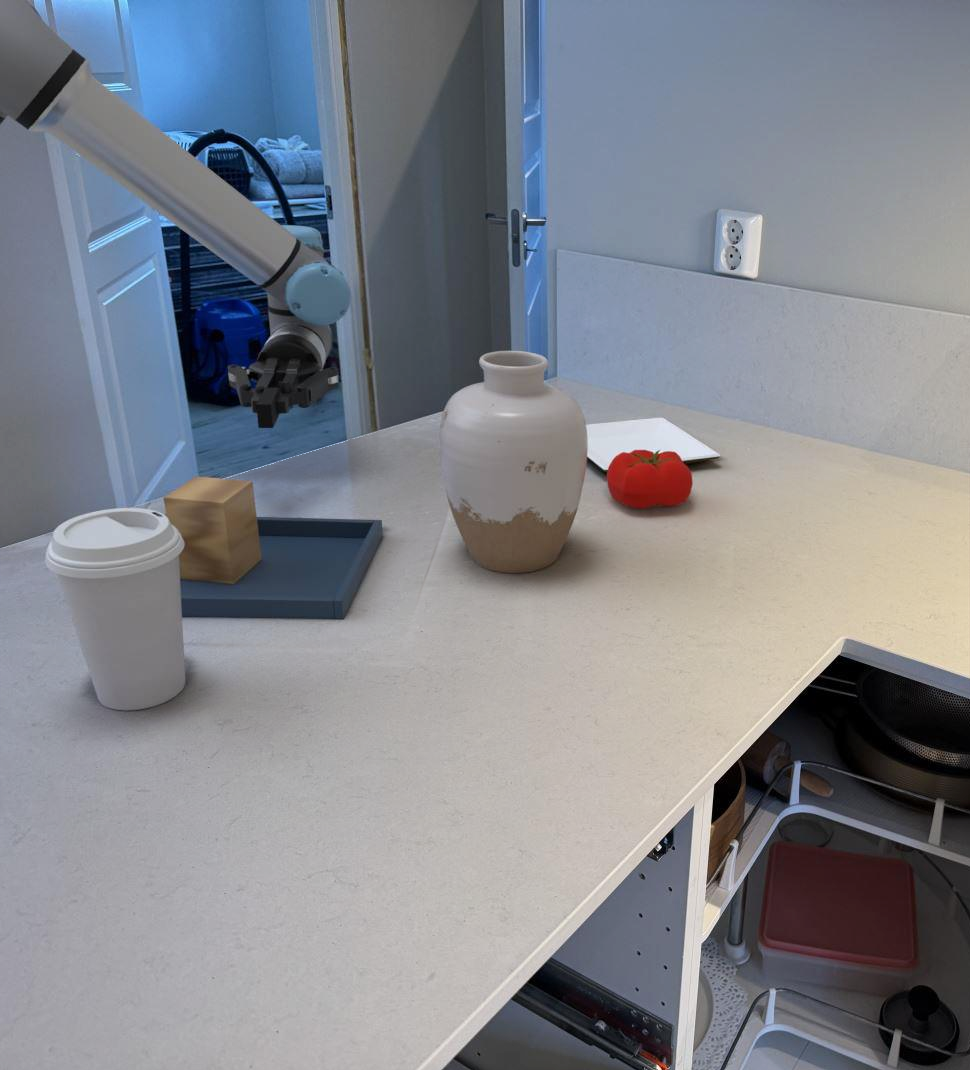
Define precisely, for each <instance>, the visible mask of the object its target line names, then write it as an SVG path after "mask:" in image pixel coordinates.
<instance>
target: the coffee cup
mask: <svg viewBox="0 0 970 1070" xmlns="http://www.w3.org/2000/svg"><path fill="white" fill-rule="evenodd" d="M164 514H165V513H162V512H159V511H157V510H153V509H148V508H141V507H140V508H139V507H118V508H117V507H116V508H108V509H101V510H97V511H92V512H91V511H90V512H87V513H83V514H81V515H77V516H74V517H72V518H69V519H68V520H65V521H64V522H62V523H61V524H59V525H58V526H57V527H55V529H54V530H53V533H52V537H51V538H52V539H51V541H49V544H47V545H48V546H47V549H46V552H45V558H44V559H45V561H44V564H45V565H46V567H47V569H48V570H50V571H51V572H53V573H54V574H56V577H57V580H58V583H59V586H60V589H61V591H62V595H63V598H64V600H65V604H66V606H67V609H68V612H69V615H70V619H71V622H72V625H73V627H74V631H75V633H76V636H77V639H78V642H79V645H80V648H81V651H82V654H83V657H84V660H85V663H86V666H87V669H88V673H89V675H90V679H91V681H92V684H93V687H94V690H95V694H96V696H97V700H98V701H99V703H100V704H101V705H102V706H103V707H106V708H108V709H111V710H115V711H138V710H145V709H149V708H153V707H156V706H159V705H162V704H164V703H166V702H168V701H170V700H172V699H173V698H175V697H177V696H178V695H179V694H180V693H181V692H182V691H183V689H184V688H185V686H186V664H185V646H184V630H183V629H184V628H183V617H182V609H181V590H180V569H179V554H180V553H181V552H182V550H183V548H184V545H185V544H184V540H183V538H182V536H181V534H180V533H179V531H178V530H177V528H176V527H174V526H173V525H172V524H171V523H170V521H169V519H168V518H167V517H166V516H165V515H164Z"/></svg>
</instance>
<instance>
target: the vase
mask: <svg viewBox="0 0 970 1070" xmlns="http://www.w3.org/2000/svg"><path fill="white" fill-rule="evenodd" d="M478 365H479V367H480V368H481V369H482V371H483V381H482V382H477V383H472V384H470V385H467V386H465V387H463V388H461V389H459V390H458V391H456V392H455V393H453V394H452V395H451V397H450V398H449V400H448V401H447V402H446V404H445V407H444V409H443V412H442V415H441V419H440V425H439V433H438V451H439V452H438V453H439V462H440V467H441V474H442V480H443V483H444V488H445V493H446V497H447V501H448V503H449V507H450V512H451V514H452V517H453V519H454V523H455V525H456V527H457V529H458V532H459V534H460V536H461V538H462V541H463V543H464V545H465V548H466V549H467V552H468V554H469V555H470V557H471V559H472V560H473V561H474V562H475V564H477V565H478V566H480V567H481V568H483V569H486V570H489V571H493V572H498V573H504V574H523V573H531V572H536V571H539V570H542V569H545V568H547V567H549V566H551V565H553V563H555V561H556V560H557V558H558V557H559V555H560V554H561V551H562V550H563V548H564V545H565V544H566V541H567V539H568V536H569V533H570V531H571V529H572V526H573V524H574V521H575V519H576V515H577V512H578V509H579V505H580V501H581V497H582V492H583V487H584V483H585V482H584V481H585V475H586V470H587V464H588V458H587V451H588V436H587V428H586V425H587V423H586V419H585V415H584V413H583V411H582V408H581V406H580V404H579V402H578V401H577V399H576V398H575V397H574V396H573V395H571V394H570V393H568V392H567V391H565V390H564V389H563V388H560V387H558V386H555V385H552V384H548V383H545V371H546V370H547V369H548V366H549V360H548V359H547V357H545V356H544V355H541V354H539V353H534V352H529V351H524V350H523V351H521V350H499V351H498V350H497V351H491V352H487V353H485V354H483V355H481V356H480V357H479V359H478Z"/></svg>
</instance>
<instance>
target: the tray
mask: <svg viewBox="0 0 970 1070" xmlns="http://www.w3.org/2000/svg"><path fill="white" fill-rule="evenodd" d="M163 514H164V515H165V516H166V513H163ZM257 524H258V532H259V540H260V549H261V557H262V560H261V561H259V562H258V563H257V564H256V565H255V566H254V567H253V568H252V569H250V570H249V571H248V572H247V573H246V574H245V575H244V576H243V577H242V578H240V579H239V580H238V581H237V582H236V583H235V584H226V583H216V582H206V581H195V580H185V579H180V590H181V609H182V618H215V619H216V618H218V619H219V618H220V619H222V618H223V619H225V618H226V619H285V620H286V619H287V620H288V619H289V620H290V619H291V620H293V619H294V620H298V619H299V620H344V619H345V618H346V615H347V613H348V611H349V610H350V609H349V608H350V607H351V604H352V602H353V600H354V598H355V596H356V594H357V592H358V590H359V587H360V585H361V584H362V582H363V579H364V577H365V575H366V573H367V572H368V568H369V567H370V564H371V562H372V560H373V558H374V556H375V554H376V552H377V549H378V548H379V546H380V543H381V541H382V539H383V536H384V535H383V534H384V533H383V520H382V519H360V518H359V519H358V518H357V519H356V518H355V519H354V518H321V517H320V518H318V517H287V516H286V517H284V516H282V517H280V516H257Z"/></svg>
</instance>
